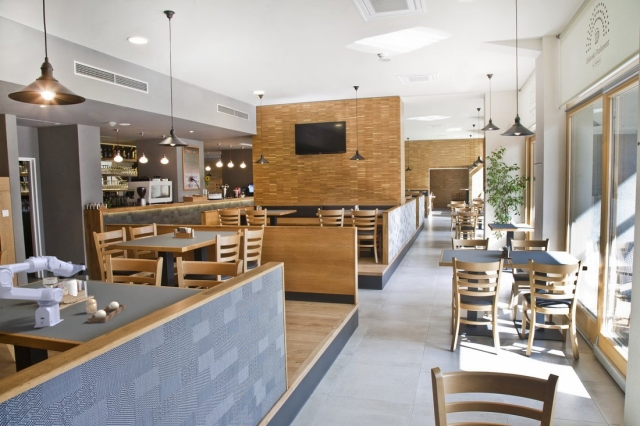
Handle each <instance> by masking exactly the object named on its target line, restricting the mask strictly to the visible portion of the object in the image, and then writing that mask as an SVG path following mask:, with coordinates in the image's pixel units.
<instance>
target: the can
mask: <svg viewBox="0 0 640 426" xmlns="http://www.w3.org/2000/svg"><path fill="white" fill-rule="evenodd" d="M62 280H63V281H62V283H63V284H65V285H66V288H67V289H68V292H69V293H70V295H73V296H77V294H78V281H77V279H76V278H75V277H74V278H65V279H62Z"/></svg>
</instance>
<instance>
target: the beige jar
mask: <svg viewBox="0 0 640 426" xmlns="http://www.w3.org/2000/svg"><path fill="white" fill-rule="evenodd" d="M97 307H98V305H97V300H96V299H94V298H88V299H87V300H86V302H85V311H86V312H85V313H86V314H88V315H89V314H92V315H93V314H95V313H96V312H97V311H98V309H97Z"/></svg>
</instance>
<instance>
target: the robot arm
mask: <svg viewBox="0 0 640 426" xmlns="http://www.w3.org/2000/svg"><path fill="white" fill-rule="evenodd" d="M44 270H45V271H49V272H51V273H53V276H54V277H59V278H58V279H59V280H64V279H68V278H75V276H76V275H75V274H77V275H78V276H84V275H85V276H90V270H89V268H87V266H86V265H85V263H83V262H82V263H79V264H74V263H72V261H67V262H66V261H63V260H60V259H58V258H57V256H53V255H52V256H50V255H46V256H45V255H39V256H37V257H36V256H29V258H26V259H24V260H23V262H19V263H18V262H16V263H11V264H2V265H1V264H0V299H5V300H6V299H9V300H25V301H26V300H28V301H29V300H31V301H35V302H36V303H37V305H39V307H38V308H37V309H36V310H35V313H34V315H35V316H34V317H35V319H34V320H35V325H34V326H33V328H46V327H53V326H55V325H57V324H59V323H60V322H63V321H64V320H65V319H64V318H61V316H60V315H61V314H60V303H61V301H62V299H63V288H60V287H56V288H55V287H53V288H46V287H39V288H27V287H17V286H15V287H14V281H13V279H14V277H15V276H14V275H15V274H17V273H21V272H26V273H28V274H31V273H36V272H41V271H44Z"/></svg>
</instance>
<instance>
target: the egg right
mask: <svg viewBox="0 0 640 426" xmlns="http://www.w3.org/2000/svg"><path fill="white" fill-rule="evenodd" d="M108 305H109V309H116V308H119V305H120V304H119V303H118V302H117V301H111V302H110V303H109V304H108Z"/></svg>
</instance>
